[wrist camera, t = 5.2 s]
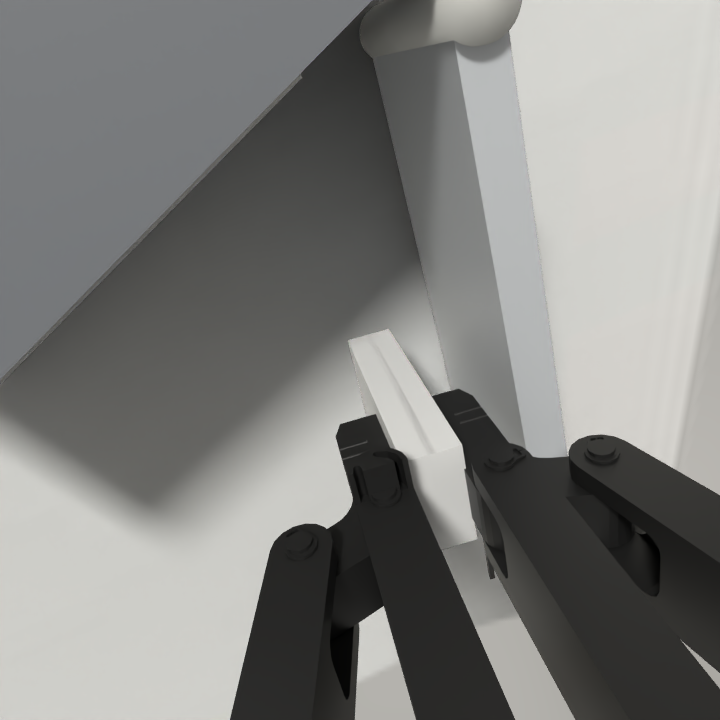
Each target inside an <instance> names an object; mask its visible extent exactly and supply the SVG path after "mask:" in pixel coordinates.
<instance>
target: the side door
mask: <svg viewBox="0 0 720 720" xmlns="http://www.w3.org/2000/svg"><path fill="white" fill-rule="evenodd" d="M521 3H522V0H385V1H383V2H381V3H380V4H378V5H376V6H374V7H373V8H371V9H370V10H369V11H368V12H367V13H366V14H365V16H364V18H363V19H362V22H361V25H360V41H361V44H362V46H363V48H364V50H365V52H366V53H367V54H368V55H369V56H370V57H371V58H373V62H374V66H375V70H376V74H377V79H378V83H379V87H380V91H381V96H382V100H383V104H384V108H385V113H386V117H387V121H388V125H389V130H390V134H391V138H392V142H393V147H394V151H395V155H396V159H397V164H398V168H399V172H400V176H401V181H402V185H403V189H404V193H405V198H406V202H407V206H408V210H409V215H410V219H411V223H412V228H413V232H414V236H415V240H416V245H417V249H418V253H419V257H420V262H421V266H422V270H423V274H424V279H425V283H426V287H427V291H428V296H429V300H430V304H431V308H432V313H433V317H434V321H435V325H436V330H437V334H438V338H439V342H440V347H441V351H442V355H443V359H444V364H445V368H446V372H447V376H448V381H449V385H450V389H451V391H452V390H455V389H461V390H463V391H465V392H467V393H469V394H471V395H473V396H474V398H475V399H476V400H477V402H478V403H479V404H480V406H481V408H483V409H484V411H485V412H486V413H487V416H489V417H490V419H491V420H492V421H493V423H494V424H495V425H496V427H497V428H498V429H499V430H500V432H501V433H502V434H503V436H504V437H505V438H506V440H507V441H508V442H509V443H513V444H516V445H519V446H522V447H523V448H525V449H526V450H527V451H528V452H530V454H531V455H532V456H533V457H538V458H554V457H568V455H567V448H566V440H565V433H564V426H563V419H562V412H561V404H560V397H559V390H558V383H557V375H556V368H555V361H554V354H553V346H552V339H551V332H550V325H549V317H548V310H547V303H546V296H545V288H544V281H543V274H542V267H541V259H540V252H539V245H538V238H537V231H536V223H535V216H534V209H533V202H532V194H531V187H530V180H529V173H528V165H527V158H526V151H525V144H524V136H523V129H522V122H521V115H520V107H519V100H518V93H517V86H516V78H515V71H514V64H513V57H512V50H511V42H510V35H509V30H510V29H511V27H512V26H513V24H514V23H515V21H516V19H517V17H518V14H519V11H520V8H521Z"/></svg>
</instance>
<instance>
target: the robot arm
mask: <svg viewBox="0 0 720 720" xmlns="http://www.w3.org/2000/svg"><path fill="white" fill-rule="evenodd" d="M348 344H349V348H350V352H351V356H352V360H353V364H354V368H355V372H356V376H357V380H358V384H359V389H360V393H361V397H362V401H363V405H364V409H365V413H366V416H367V417H363V418H360V419H357V420H353V421H350V422H346V423H343V424H340V426H339V429H338V432H337V435H336V440H337V443H338V447H339V450H340V454H341V457H342V461H343V465H344V468H345V472H346V475H347V479H348V482H349V486H350V489H351V493H352V496H353V502H352V506H351V508H350V510H349V512H348V513H347V514H346V515H345V517H344V518H343V519H342V520H340V521H339V522H337V523H336V524H335V525H333V526H331V527H330V528H328V529H326V528H325V527H323V526H320V525H318V524H302V525H299V526H295V527H292V528H291V529H289V530H287V531H285V532H284V533H282V534H281V535H280V536H279V537H278V538H277V539H276V540H275V541H274V544H273V546H272V548H271V550H270V553H269V558H268V562H267V566H266V570H265V574H264V579H263V583H262V587H261V591H260V595H259V600H258V604H257V608H256V612H255V617H254V621H253V625H252V629H251V633H250V638H249V642H248V646H247V650H246V655H245V659H244V663H243V667H242V671H241V676H240V680H239V684H238V688H237V692H236V697H235V701H234V705H233V709H232V714H231V718H230V720H355V701H356V700H355V699H356V683H357V665H358V646H359V624H358V623H359V622H360V621H362V620H363V619H365V618H366V617H368V616H369V615H371V614H372V613H374V612H375V611H377V610H378V609H380V608H381V607H383V606H384V608H385V611H386V615H387V618H388V622H389V625H390V629H391V632H392V636H393V640H394V643H395V647H396V650H397V654H398V657H399V661H400V664H401V668H402V671H403V675H404V678H405V682H406V686H407V689H408V692H409V696H410V700H411V703H412V706H413V710H414V714H415V717H416V720H515V718H514V716H513V714H512V711H511V709H510V707H509V705H508V702H507V700H506V698H505V695H504V693H503V691H502V689H501V686H500V684H499V682H498V679H497V677H496V675H495V672H494V670H493V668H492V666H491V663H490V661H489V659H488V656H487V654H486V652H485V650H484V647H483V645H482V643H481V640H480V638H479V636H478V634H477V631H476V629H475V627H474V624H473V622H472V620H471V617H470V615H469V613H468V611H467V608H466V606H465V604H464V601H463V599H462V597H461V595H460V592H459V590H458V588H457V585H456V583H455V581H454V579H453V576H452V574H451V572H450V569H449V567H448V565H447V563H446V560H445V558H444V556H443V553H442V551H441V550H444V549H447V548H451V547H454V546H457V545H460V544H463V543H466V542H470V541H473V540H476V539H477V533H476V527H475V524H476V526H477V528H478V530H479V531H480V533H481V535H482V537H483V540H484V547H485V553H486V560H487V566H488V572H489V576H490V579H493V578H495V575H494V570H495V572H496V574H497V576H498V577H499V579H500V581H501V583H502V585H503V587H504V588H505V590H506V592H507V594H508V596H509V598H510V600H511V601H512V603H513V605H514V607H515V609H516V611H517V612H518V614H519V616H520V618H521V620H522V622H523V623H524V625H525V627H526V629H527V631H528V633H529V635H530V636H531V638H532V640H533V642H534V644H535V646H536V647H537V649H538V651H539V653H540V655H541V657H542V659H543V660H544V662H545V664H546V666H547V668H548V670H549V672H550V673H551V675H552V677H553V679H554V681H555V683H556V684H557V686H558V688H559V690H560V692H561V694H562V696H563V697H564V699H565V701H566V703H567V705H568V707H569V709H570V710H571V712H572V714H573V715H574V718H575V720H720V689H719V687H718V686H717V685H716V684H715V682H714V681H713V680H712V679H711V677H710V676H709V675H708V674H707V672H706V671H705V670H704V669H703V667H702V666H701V665H700V664H699V662H698V661H697V660H696V659H695V658H694V656H693V655H692V654H691V653H690V651H689V650H688V649H687V648H686V646H685V645H684V644H683V643H682V641H683V642H684V643H685V644H686V645H688V646H689V647H690V648H691V649H692V650H693V651H695V652H696V653H697V654H698V655H699V656H701V657H702V658H703V659H704V660H705V661H706V662H708V663H709V664H710V665H711V666H712V667H714V668H715V669H716V670H717V671H718V672H719V673H720V495H718V494H717V493H715V492H713V491H711V490H710V489H708V488H706V487H704V486H703V485H701V484H699V483H697V482H696V481H694V480H692V479H690V478H689V477H687V476H685V475H684V474H682V473H680V472H678V471H677V470H675V469H673V468H671V467H670V466H668V465H666V464H664V463H663V462H661V461H659V460H657V459H656V458H654V457H652V456H651V455H649V454H647V453H645V452H644V451H642V450H640V449H638V448H637V447H635V446H633V445H631V444H630V443H628V442H626V441H624V440H622V439H619V438H617V437H614V436H607V435H591V436H587V437H584V438H581V439H578V440H577V441H576V442H575V443H573V444H572V445H571V447H570V450H569V456H568V457H554V458H538V457H533V456H532V455H531V454H530V452H528V451H527V450H526V449H525V448H523V447H522V446H519V445H516V444H513V443H509V442H508V441H507V440H506V438H505V437H504V436H503V434H502V433H501V432H500V430H499V429H498V428H497V427H496V425H495V424H494V423H493V421H492V420H491V419H490V417H489V416H487V413H486V412H485V411H484V409H483V408H481V406H480V404H479V403H478V402H477V400H476V399H475V398H474V396H473V395H471V394H469V393H467V392H465V391H463V390H461V389H455V390H452V391H448V392H445V393H441V394H438V395H435V396H431V395H430V393H429V392H428V390H427V388H426V387H425V385H424V384H423V382H422V380H421V379H420V377H419V376H418V374H417V373H416V371H415V369H414V368H413V366H412V365H411V363H410V361H409V360H408V358H407V357H406V355H405V354H404V352H403V350H402V349H401V347H400V346H399V344H398V342H397V341H396V339H395V338H394V336H393V335H392V333H391V331H390V330H389V329H386V330H382V331H379V332H375V333H372V334H368V335H364V336H361V337H357V338H354V339H350V340H348ZM681 640H682V641H681Z"/></svg>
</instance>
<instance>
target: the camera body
mask: <svg viewBox="0 0 720 720" xmlns="http://www.w3.org/2000/svg"><path fill="white" fill-rule="evenodd" d="M371 1H372V0H0V385H1V384H2V383H3V382H4V381H5V380H6V379H7V378H8V377H9V375H10V374H11V373H12V372H13V371H14V370H15V369H16V368H17V367H18V366H19V365H20V364H21V363H22V362H23V361H24V360H25V359H26V358H27V357H28V356H29V355H30V354H31V353H32V352H33V351H34V350H35V349H36V348H37V347H38V346H39V345H40V344H41V343H42V342H43V341H44V340H45V339H46V338H47V337H48V336H49V335H50V334H51V333H52V332H53V331H54V330H55V329H56V328H57V327H58V326H59V325H60V324H61V323H62V322H63V321H64V320H65V319H66V318H67V317H68V316H69V314H70V313H71V312H72V311H73V310H74V309H75V308H76V307H77V306H78V305H79V304H80V303H81V302H82V301H83V300H84V299H85V298H86V297H87V296H88V295H89V294H90V293H91V292H92V291H93V290H94V289H95V288H96V287H97V286H98V285H99V284H100V283H101V282H102V281H103V280H104V279H105V278H106V277H107V276H108V275H109V274H110V273H111V272H112V271H113V270H114V269H115V268H116V267H117V266H118V265H119V264H120V263H121V262H122V261H123V260H124V259H125V258H126V257H127V256H128V255H129V253H130V252H131V251H132V250H133V249H134V248H135V247H136V246H137V245H138V244H139V243H140V242H141V241H142V240H143V239H144V238H145V237H146V236H147V235H148V234H149V233H150V232H151V231H152V230H153V229H154V228H155V227H156V226H157V225H158V224H159V223H160V222H161V221H162V220H163V219H164V218H165V217H166V216H167V215H168V214H169V213H170V212H171V211H172V210H173V209H174V208H175V207H176V206H177V205H178V204H179V203H180V202H181V201H182V200H183V199H184V198H185V197H186V196H187V195H188V194H189V192H190V191H191V190H192V189H193V188H194V187H195V186H196V185H197V184H198V183H199V182H200V181H201V180H202V179H203V178H204V177H205V176H206V175H207V174H208V173H209V172H210V171H211V170H212V169H213V168H214V167H215V166H216V165H217V164H218V163H219V162H220V161H221V160H222V159H223V158H224V157H225V156H226V155H227V154H228V153H229V152H230V151H231V150H232V149H233V148H234V147H235V146H236V145H237V144H238V143H239V142H240V141H241V140H242V139H243V138H244V137H245V136H246V135H247V134H248V132H249V131H250V130H251V129H252V128H253V127H254V126H255V125H256V124H257V123H258V122H259V121H260V120H261V119H262V118H263V117H264V116H265V115H266V114H267V113H268V112H269V111H270V110H271V109H272V108H273V107H274V106H275V105H276V104H277V103H278V102H279V101H280V100H281V99H282V98H283V97H284V96H285V95H286V94H287V93H288V92H289V91H290V90H291V89H292V88H293V87H294V86H295V85H296V84H297V83H298V82H299V81H300V80H301V79H302V78H303V77H302V76H301V75H300V73H301V72H302V71H303V70H304V69H305V68H306V67H307V66H308V65H309V64H310V63H311V62H312V61H313V60H314V59H315V58H316V57H317V56H318V55H319V54H320V53H321V52H322V51H323V50H324V49H325V48H326V47H327V46H328V45H329V44H330V43H331V42H332V41H333V40H334V39H335V38H336V37H337V36H338V35H339V34H340V33H341V32H342V31H343V30H344V29H345V28H346V27H347V26H348V25H349V24H350V23H351V22H352V21H353V19H354V18H355V17H356V16H357V15H358V14H359V13H360V12H361V11H362V10H363V9H364V8H365V7H366V6H367V5H368V4H369V3H370V2H371Z"/></svg>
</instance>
